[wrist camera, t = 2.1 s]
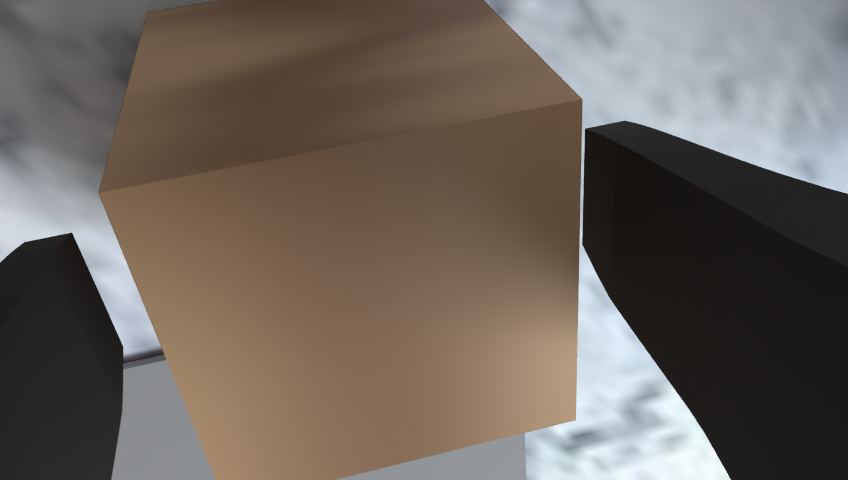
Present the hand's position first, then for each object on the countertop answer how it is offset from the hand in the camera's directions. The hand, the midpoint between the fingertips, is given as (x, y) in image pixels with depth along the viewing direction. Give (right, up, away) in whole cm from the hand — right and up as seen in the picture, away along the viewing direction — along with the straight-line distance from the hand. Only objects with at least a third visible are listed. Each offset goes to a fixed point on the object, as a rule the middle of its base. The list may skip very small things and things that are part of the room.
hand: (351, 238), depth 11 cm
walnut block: (-1, +2, +3) cm, 4 cm away
